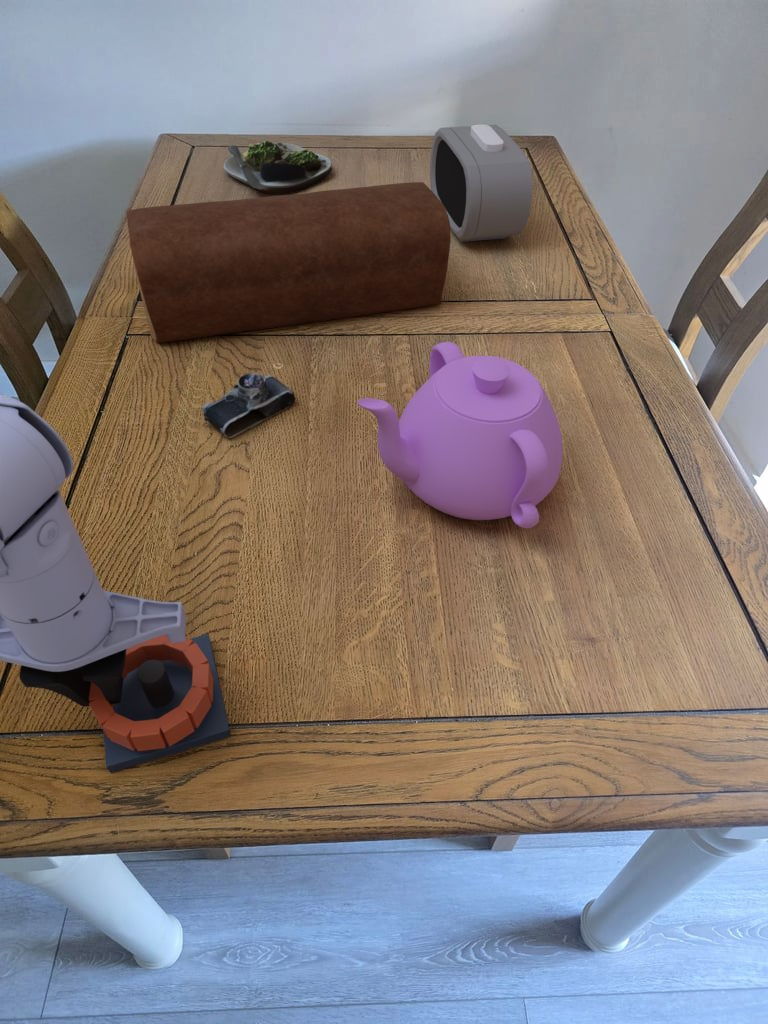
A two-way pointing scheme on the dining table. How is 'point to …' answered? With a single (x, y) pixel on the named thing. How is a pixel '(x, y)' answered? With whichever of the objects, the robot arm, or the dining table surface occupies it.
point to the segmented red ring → (173, 722)
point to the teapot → (474, 438)
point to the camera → (248, 404)
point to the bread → (288, 259)
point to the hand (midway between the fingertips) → (103, 692)
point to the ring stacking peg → (165, 707)
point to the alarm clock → (481, 181)
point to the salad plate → (277, 167)
